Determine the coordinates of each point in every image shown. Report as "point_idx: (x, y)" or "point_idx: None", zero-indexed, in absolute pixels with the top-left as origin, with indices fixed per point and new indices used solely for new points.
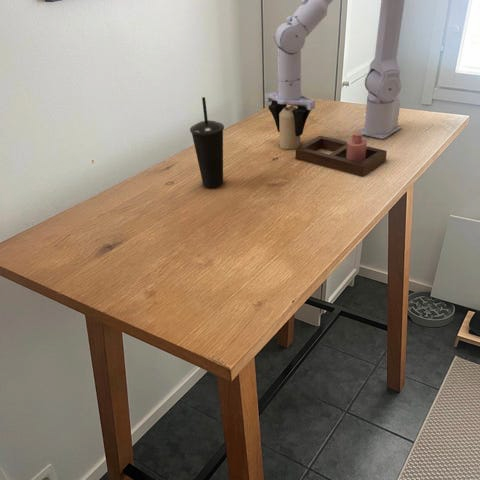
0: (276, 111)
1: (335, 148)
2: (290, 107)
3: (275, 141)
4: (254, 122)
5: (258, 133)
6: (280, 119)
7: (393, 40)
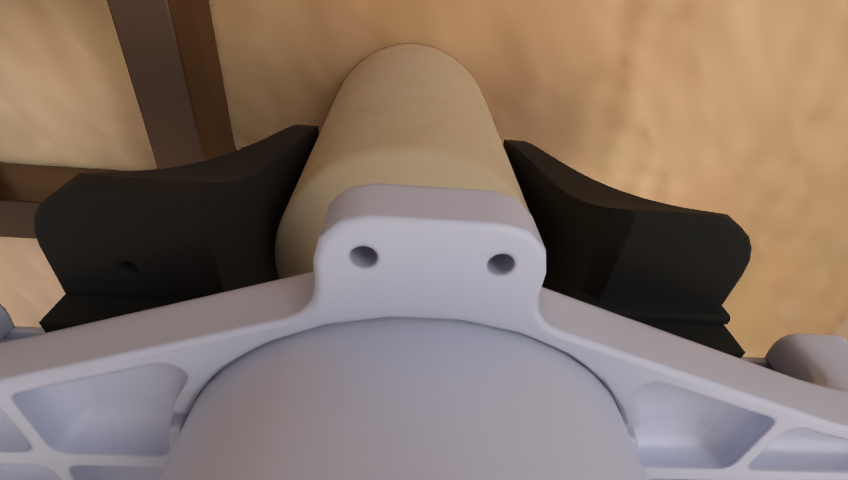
0: (578, 220)
1: (65, 177)
2: None
3: (550, 140)
4: (791, 317)
5: (723, 203)
6: (475, 145)
7: None
